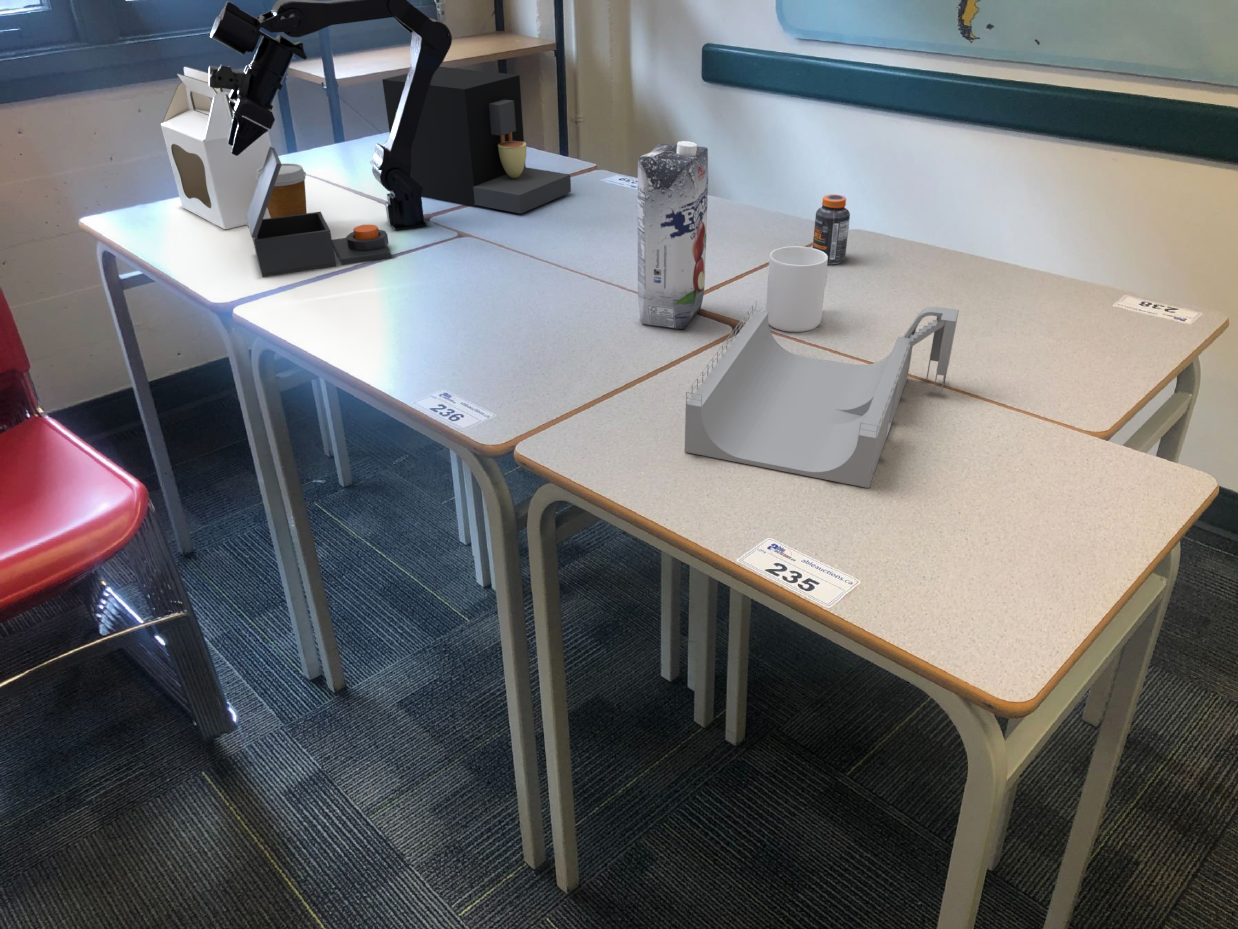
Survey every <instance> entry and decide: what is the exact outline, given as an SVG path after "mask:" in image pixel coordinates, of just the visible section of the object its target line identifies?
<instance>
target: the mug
mask: <svg viewBox="0 0 1238 929" xmlns="http://www.w3.org/2000/svg"><path fill="white" fill-rule="evenodd" d="M768 256H769V257H768V273H767V283H766V299H765V312H769V314H768V323H769V327H771V328H774V329H775V330H779V331H783V332H788V333H789V332H790V333H803V332H809V331H812V330H814V329H816V328H817V327H818V326H819V325H820V323H821V322H822V316H823V310H824V309H823V307H824V298H825V291H826V290H825V289H826V285H827V279H828V273H829V269H828V264H827V261H828V256H827V255H826V253H824V252H822V251H820V250H818V249H814V248H813V247H809V246H801V245H799V246H797V245H795V246H793V245H792V246H791V245H790V246H783V247H779V248H775V249H773V250H772V251H771V252H770V253H769V255H768Z"/></svg>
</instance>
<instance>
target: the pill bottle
mask: <svg viewBox="0 0 1238 929" xmlns="http://www.w3.org/2000/svg"><path fill="white" fill-rule="evenodd" d="M821 205H822V206H821V207H819V208H818V209H817V210H816V211H815V217H814V218H815V219H814V227H813V228H814V229H813V240H812V248H814V249H818V250H820V251H822V252H824V253H826V255H827V256H828V261H827V265H837V264H841V263H843V262H844V261H845V259H846V254H847V245H848V236H849V231H850V230H849V229H850V218H851V214H850V211H849V210H848V208H846V205H847V197H845V195H842V194H833V193H832V194H826V195H824V196H823V197H822V201H821Z"/></svg>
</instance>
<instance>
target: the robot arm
mask: <svg viewBox="0 0 1238 929" xmlns="http://www.w3.org/2000/svg"><path fill="white" fill-rule="evenodd" d="M390 18H393V19H394V21H396V22H397V23H398V24H399V25H400V26H401V27H403V29H405V30H406V31H407V32H408V33H409V34H411V40H410V64H409V65H410V66H409V69H408V73H407V74H408V76H407V79H406V83H405V86H404V89H403V93H402V96H401V100H400V103H399V106H398V110H397V113H396V116H395V120H394V123H393V127H392V130H391V133H390V132H389V137H388V138H387V139H386V141H385V142H384V144H383V145H382V144H380V143H378V142H376V144H375V146H374V154H373V157H372V159H371V160H370V161H369V163H370V164H371V165H372V166H371V167H372V168H371V171H372V175H373V177H374V179H375V180H376V181H377V182H378V183H379V184H380V185H381V186H382V187H383V188H384V189H385V190H386V191H388V192H389V193H386V199H387V201H385V203H384V205H385V212H386V219H387V223H388V224H389V226H391V227H392V229H393V230H394V231H402V230H403V231H404V230H411V229H418V228H425V227H427V226H428V223H427V222H426V221H425V217H424V216H425V215H424V208H423V199H422V196H421V194H422V189H423V188H422V186H421V185H419V184H418V183H417V182H416V181H415V180H414V179H413V178H411V177H410V171H411V146H412V142H413V139H414V136H415V133H416V129H417V126H418V123H419V120H420V116H421V113H422V110H423V106H424V103H425V100H426V97H427V93H428V90H429V87H430V84H431V80H432V77H433V75H434V73H435V71H436V70H437V69H438V67H441V65H442V63H443V62H444V60H445V58H446V56H447V55H448V53H449V51H450V48H451V47H452V43H453V36H452V33H451V31H450V29H449V27H448V25H446V24H445V23H443V22H441V21H439V20H436V19H434V18H431V17H428V16H427V15H426V14H425V13H423V11H421V10H419V9H418V8H417V7H416V6H414V5H413V4H411V3H410V2H409V1H408V0H277V1H275V3H274V5H273V6H272V9H271V10H269V11H267V12H265V13H262V14H259V15H258V16H253V15H252V14H250V13H248V12H246V11H244V10H243V9H241V8H239V7H238V6H237V5H236V4H235V3H233V2H231V1H229V0H226V1H225V4H224V6H223V7H222V9H221V11H220V12H219V14H218V15H217V16H216V17H215V19H214V22H213V25H212V28H211V31H210V36H209V37H210V39H212V40H215V41H216V42H217V43H220V44H222V45H223V46H225V47H227V48H229V49H231V50H233V51H234V52H236V53H237V54H240V55H241V56H244V55H245V54H246V53H250V54H252V53H253V52H254V51H255V50H256V51H255V53H254V56H253V57H252V59H251V62H250V64H248V65H245V67H244V70H238V69H234V68H232V67H231V66H230V65H223V64H220V65H219V66H217V65H208V73H209V87H212V88H217V89H218V88H222V89H223V90H224V89H225V90H226V89H227V90H230V92H229V93H230V95H229V98H230V99H232V100H233V99H235V100H234V102H233V101H231V100H229V103H230V105H231V108H232V110H233V119H232V124H231V130H230V135H229V140H228V144H229V145H231V146H233V147H232V151H231V153H232V154H233V155H235V156H238V155H239V154H240V153H242V152H243V151H244V150H245V149H246V148H247V147H249V146H250V145H251V144H252V143H253V142H254V141H256V140H257V139H258V138H259V137H261V136H262V135H263V134H264V133H266V132H267V131H268V132H269V130H272V128H273V125H274V123H275V121H276V119H275V116H274V113H273V108H274V105H273V103H274V102H275V99H276V96H277V95H278V93H279V91H281V90H282V88H283V86H284V84H283V81H284V79H285V77H286V75H287V72H288V70H289V67H290V65H291V63H292V62H293V59H294V56H297V57H299V58H300V59H302V60H304V61H305V60H307V59H308V56H307V54H306V52H305V49H304V43H303V42H301V41H299V40H298V41H296V42H293V41H292V40H290V39H288V38H286V37H284V36H283V35H281V34H278V35H277V36H275V38H274V37H272V36H271V35H269V34H267V33H266V32H264V31H262V30H261V28H262V29H264V30H266V31H267V32H269V33H271V34H277V33H284V34H285V35H286V36H287V37H291V38H302V37H305V36H308V35H310V34H314V33H317V32H319V31H320V30H321V31H322V30H323V29H325V28H328V27H331V26H333V25H334V26H335V25H345V24H351V23H359V22H367V21H373V20H374V21H375V20H382V19H390ZM261 36H262V37H261ZM260 38H261V39H260ZM259 40H260V42H259ZM258 43H259V44H258ZM257 45H258V46H257ZM256 47H257V49H256Z"/></svg>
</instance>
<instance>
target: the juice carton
mask: <svg viewBox="0 0 1238 929" xmlns="http://www.w3.org/2000/svg"><path fill="white" fill-rule="evenodd" d="M636 185H637V186H636V188H637V192H636V193H637V194H636V197H637V200H636V202H637V204H636V205H637V206H636V207H637V303H638V312H639V317H640V318H639V319H640V322H641V324H643V325H648V326H655V327H663V328H669V329H675V330H684V329H685V328H686V327H688V325H689V324H690V322H691V321H692V320H693V318H694V317H695V316H696V315H697V314H698V313H699V311H700V310H701V308H702V305H703V300H704V296H705V284H706V256H707V229H708V198H709V197H708V196H709V149H708V147H706V146H698V143H696V142H692V141H689V140H680V141H677V144H673V143H672V144H669V143H658V144H656V146H655V147H654V148H653V149H652V150H651V151H650V152H648V153H645V154H642V155H640V156H639V157H638V159H637V184H636Z"/></svg>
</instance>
